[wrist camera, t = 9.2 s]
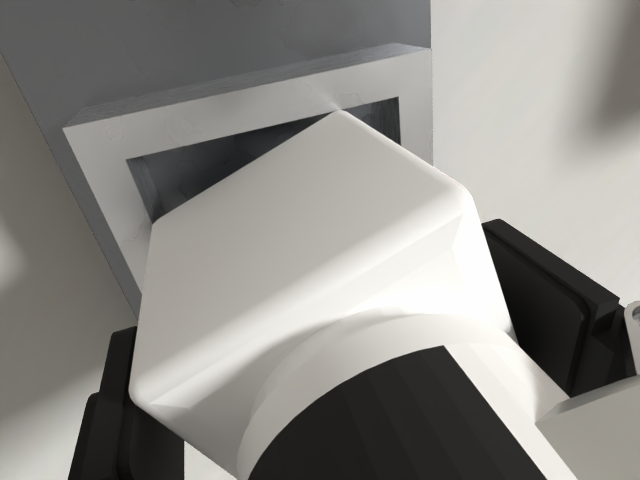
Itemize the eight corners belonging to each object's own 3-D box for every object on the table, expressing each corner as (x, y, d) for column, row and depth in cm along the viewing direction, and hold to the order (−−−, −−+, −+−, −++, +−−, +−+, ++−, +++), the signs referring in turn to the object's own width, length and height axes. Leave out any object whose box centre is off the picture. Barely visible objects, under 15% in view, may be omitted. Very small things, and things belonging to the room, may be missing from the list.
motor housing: (8, -6, 14) (-85, -13, 9) (391, -68, 16) (480, -100, 11) (181, 362, 23) (180, 455, 18) (409, 290, 26) (462, 356, 21)
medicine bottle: (263, 350, 17) (381, 854, 7) (147, 221, 13) (23, 944, 3) (413, 259, 17) (756, 634, 7) (341, 102, 13) (888, 431, 3)
